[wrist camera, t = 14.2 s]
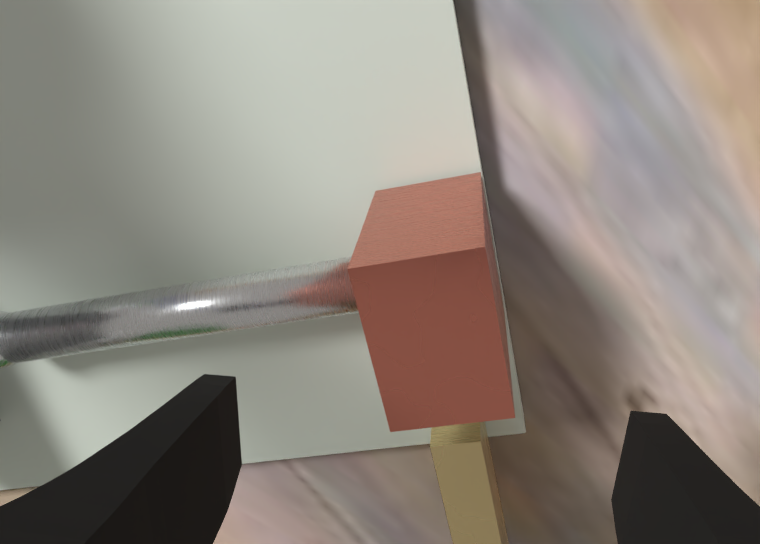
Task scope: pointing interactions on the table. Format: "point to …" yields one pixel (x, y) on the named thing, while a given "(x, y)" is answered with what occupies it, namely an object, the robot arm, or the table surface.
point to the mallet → (339, 307)
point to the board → (212, 201)
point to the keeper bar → (468, 483)
